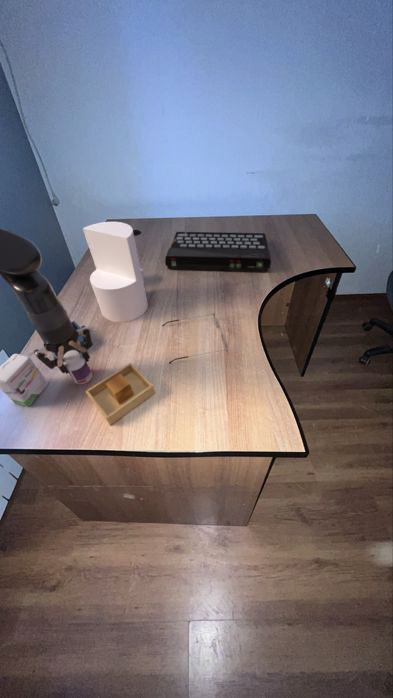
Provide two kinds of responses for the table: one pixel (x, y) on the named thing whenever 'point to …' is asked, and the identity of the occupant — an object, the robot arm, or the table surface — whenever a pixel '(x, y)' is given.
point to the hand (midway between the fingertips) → (76, 365)
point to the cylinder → (116, 271)
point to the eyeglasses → (216, 326)
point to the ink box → (21, 380)
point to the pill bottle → (77, 367)
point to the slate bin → (80, 338)
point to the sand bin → (116, 411)
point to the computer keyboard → (219, 252)
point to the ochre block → (119, 388)
